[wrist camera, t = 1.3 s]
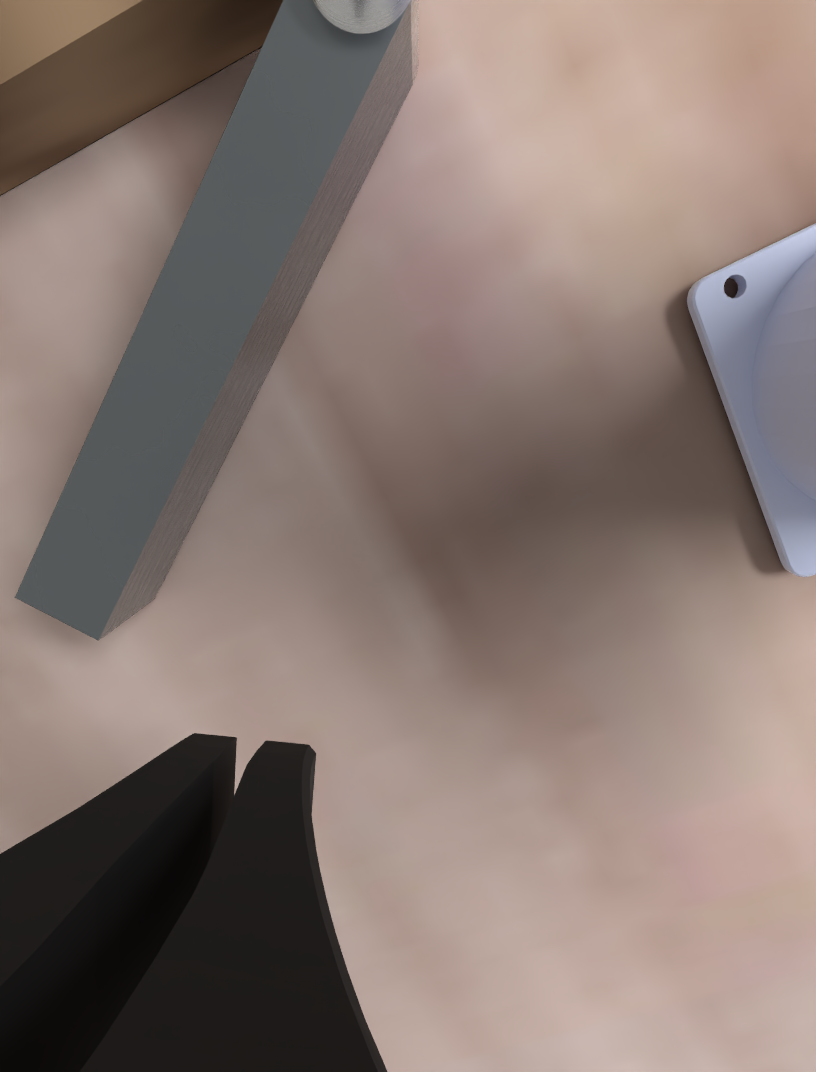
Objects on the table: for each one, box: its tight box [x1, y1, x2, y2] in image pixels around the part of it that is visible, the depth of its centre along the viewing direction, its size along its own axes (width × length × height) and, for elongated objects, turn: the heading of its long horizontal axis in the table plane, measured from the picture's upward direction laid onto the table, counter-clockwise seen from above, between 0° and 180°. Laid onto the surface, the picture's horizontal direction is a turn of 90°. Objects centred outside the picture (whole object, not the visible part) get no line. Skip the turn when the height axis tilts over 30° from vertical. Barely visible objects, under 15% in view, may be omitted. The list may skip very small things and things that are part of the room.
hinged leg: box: [15, 0, 418, 641], centre depth 14 cm, size 15×2×4 cm, turn 150°
